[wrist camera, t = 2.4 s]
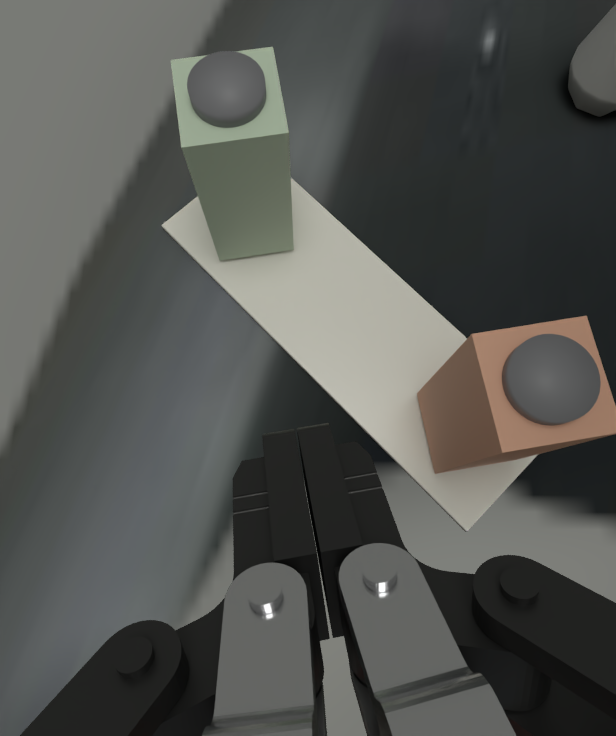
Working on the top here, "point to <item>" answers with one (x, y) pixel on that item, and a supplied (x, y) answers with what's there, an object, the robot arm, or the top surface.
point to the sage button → (237, 149)
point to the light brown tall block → (517, 395)
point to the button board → (352, 338)
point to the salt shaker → (595, 69)
